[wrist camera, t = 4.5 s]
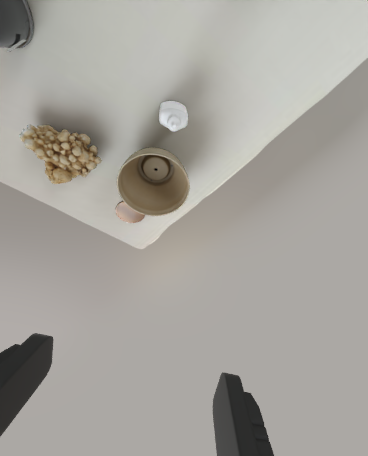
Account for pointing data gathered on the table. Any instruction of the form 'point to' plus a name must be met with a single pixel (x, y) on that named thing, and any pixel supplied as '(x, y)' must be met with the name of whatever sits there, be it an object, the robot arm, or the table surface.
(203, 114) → the table surface
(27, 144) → the mineral formation
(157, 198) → the planter bowl
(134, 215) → the cork coaster
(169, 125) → the eye dropper bottle
